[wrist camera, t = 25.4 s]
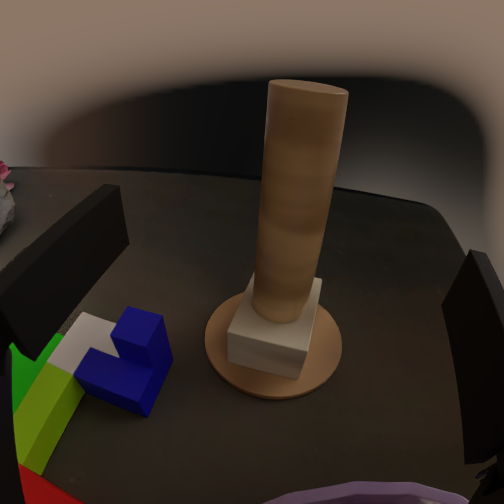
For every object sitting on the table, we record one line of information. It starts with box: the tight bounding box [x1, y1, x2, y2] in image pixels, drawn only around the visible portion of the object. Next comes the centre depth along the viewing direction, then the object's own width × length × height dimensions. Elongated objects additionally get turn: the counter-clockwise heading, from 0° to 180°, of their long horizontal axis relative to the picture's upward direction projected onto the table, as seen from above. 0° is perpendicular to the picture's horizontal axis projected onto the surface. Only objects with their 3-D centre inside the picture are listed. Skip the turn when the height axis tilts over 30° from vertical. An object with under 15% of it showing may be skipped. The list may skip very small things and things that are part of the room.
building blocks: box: [9, 306, 173, 504], centre depth 12 cm, size 15×13×4 cm
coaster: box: [205, 292, 342, 400], centre depth 20 cm, size 9×9×1 cm
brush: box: [227, 80, 348, 380], centre depth 16 cm, size 6×4×15 cm
